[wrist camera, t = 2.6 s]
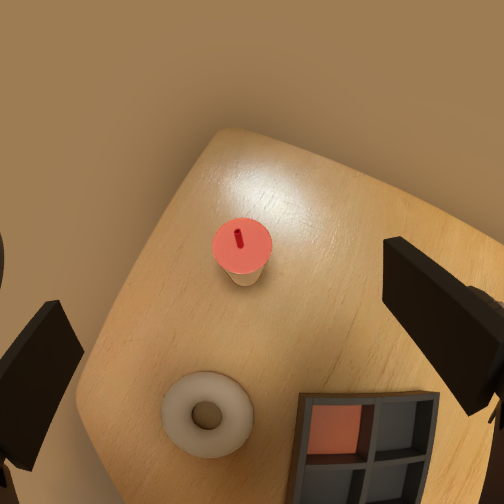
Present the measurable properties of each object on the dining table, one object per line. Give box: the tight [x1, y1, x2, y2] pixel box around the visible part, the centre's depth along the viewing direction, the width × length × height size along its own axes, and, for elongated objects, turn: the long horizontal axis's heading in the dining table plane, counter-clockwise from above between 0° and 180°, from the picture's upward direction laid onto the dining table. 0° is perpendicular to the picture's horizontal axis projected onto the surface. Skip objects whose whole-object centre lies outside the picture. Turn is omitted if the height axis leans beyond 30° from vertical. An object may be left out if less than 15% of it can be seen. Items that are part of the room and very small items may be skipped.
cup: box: [212, 218, 272, 286], centre depth 31 cm, size 5×5×12 cm
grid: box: [285, 390, 440, 504], centre depth 27 cm, size 15×15×5 cm
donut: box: [161, 372, 254, 458], centre depth 30 cm, size 10×4×10 cm
